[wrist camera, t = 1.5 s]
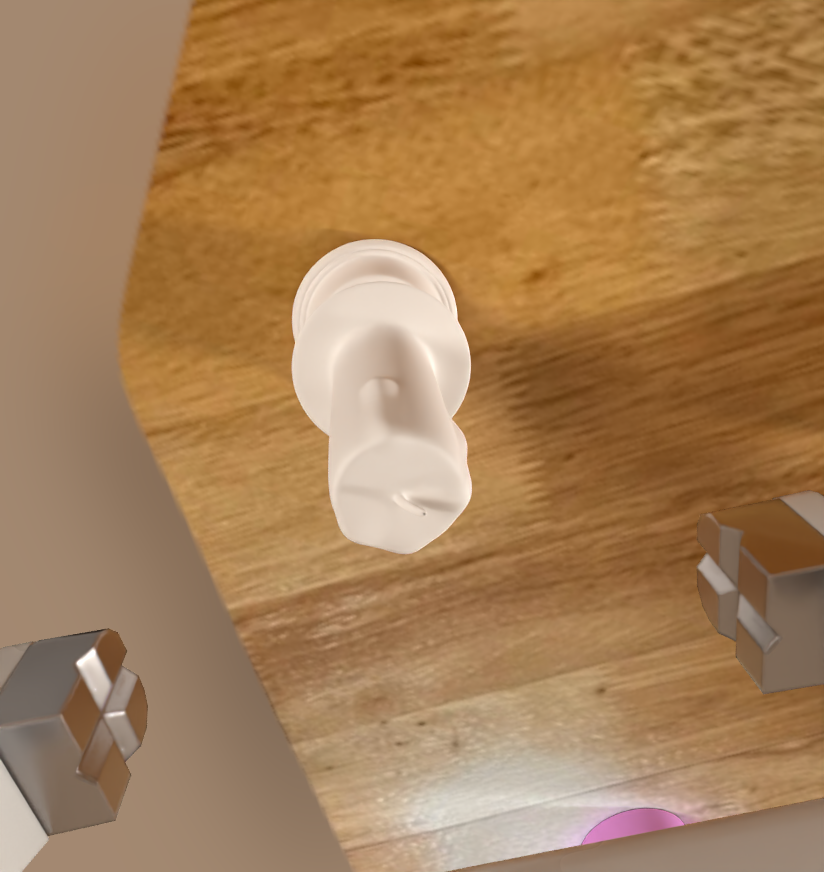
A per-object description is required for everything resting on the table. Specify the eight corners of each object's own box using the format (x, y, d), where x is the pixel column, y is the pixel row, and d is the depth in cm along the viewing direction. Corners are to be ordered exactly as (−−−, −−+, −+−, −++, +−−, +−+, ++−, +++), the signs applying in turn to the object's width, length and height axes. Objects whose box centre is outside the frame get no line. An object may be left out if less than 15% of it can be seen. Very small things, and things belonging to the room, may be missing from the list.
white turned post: (459, 238, 21) (574, 359, 10) (453, 397, 24) (542, 633, 13) (287, 238, 21) (220, 364, 10) (297, 400, 23) (251, 647, 12)
